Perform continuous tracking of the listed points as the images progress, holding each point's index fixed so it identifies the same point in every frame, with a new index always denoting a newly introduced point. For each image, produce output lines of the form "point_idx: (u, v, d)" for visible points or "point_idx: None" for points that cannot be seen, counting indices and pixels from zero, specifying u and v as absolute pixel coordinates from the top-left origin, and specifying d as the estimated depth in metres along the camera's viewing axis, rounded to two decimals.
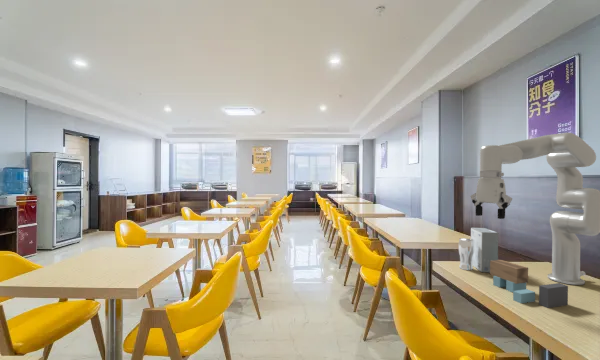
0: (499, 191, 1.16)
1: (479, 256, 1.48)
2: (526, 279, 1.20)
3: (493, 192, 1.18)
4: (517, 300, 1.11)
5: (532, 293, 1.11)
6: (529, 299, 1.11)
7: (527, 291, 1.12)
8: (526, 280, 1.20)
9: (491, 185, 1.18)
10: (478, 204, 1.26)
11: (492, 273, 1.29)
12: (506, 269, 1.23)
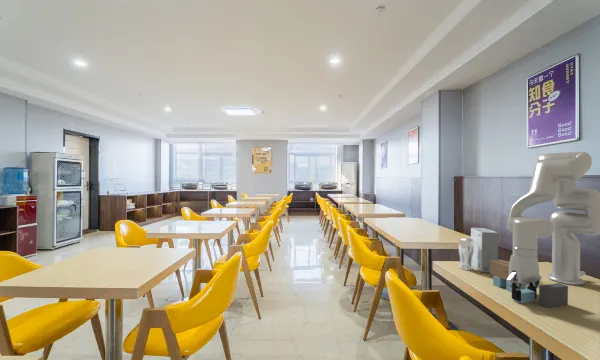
0: None
1: (479, 256, 1.48)
2: None
3: (536, 271, 1.10)
4: None
5: (532, 293, 1.11)
6: (529, 299, 1.10)
7: (527, 291, 1.12)
8: None
9: (535, 264, 1.10)
10: None
11: (492, 273, 1.29)
12: (506, 269, 1.23)
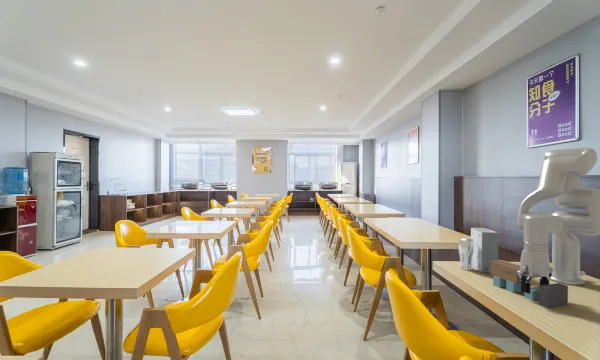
0: None
1: (479, 256, 1.48)
2: None
3: (547, 265, 1.13)
4: (528, 297, 1.14)
5: None
6: None
7: (538, 288, 1.15)
8: None
9: (546, 258, 1.13)
10: None
11: (492, 273, 1.29)
12: (506, 269, 1.23)
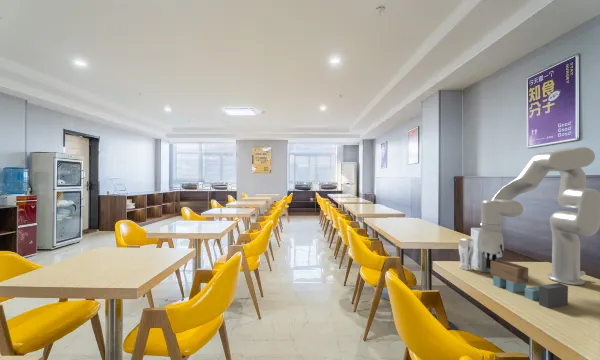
0: None
1: (479, 256, 1.48)
2: (526, 279, 1.20)
3: None
4: (528, 297, 1.14)
5: None
6: None
7: (538, 288, 1.15)
8: (527, 280, 1.20)
9: None
10: None
11: (492, 273, 1.29)
12: (506, 269, 1.23)
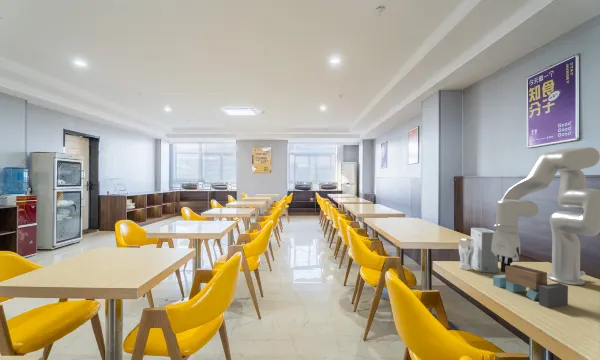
0: None
1: (479, 256, 1.48)
2: None
3: None
4: (530, 296, 1.13)
5: None
6: None
7: None
8: None
9: None
10: None
11: (508, 279, 1.21)
12: (523, 275, 1.15)
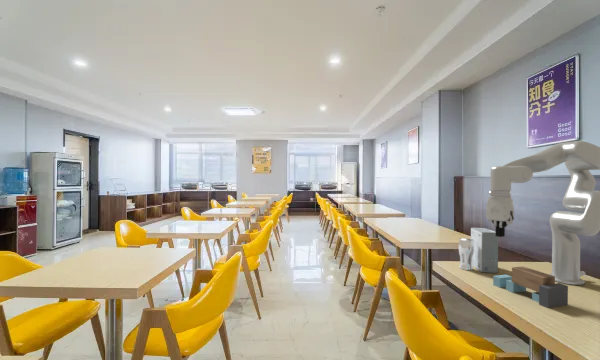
0: None
1: (479, 256, 1.48)
2: None
3: None
4: (533, 297, 1.12)
5: None
6: None
7: None
8: None
9: None
10: None
11: (514, 281, 1.20)
12: (530, 278, 1.13)
